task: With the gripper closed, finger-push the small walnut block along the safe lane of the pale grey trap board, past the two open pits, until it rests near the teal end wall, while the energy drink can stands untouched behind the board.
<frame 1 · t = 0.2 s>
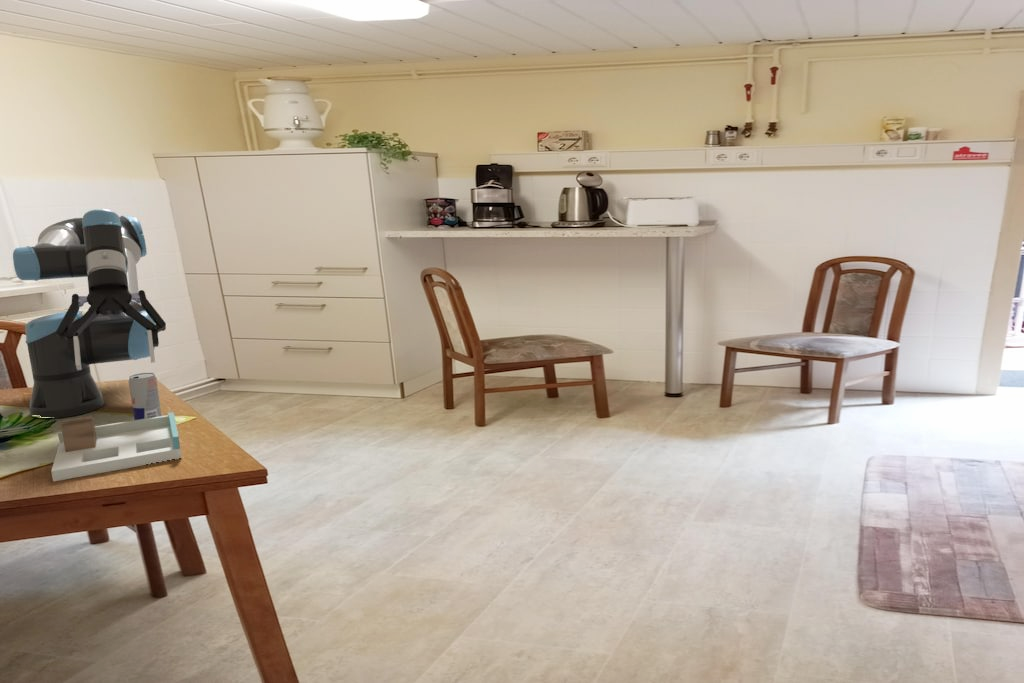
hand: (116, 364, 146), 16 cm above the table, tool tilted 35°, fingers open, 13 cm apart
walnut block: (81, 445, 137), point 2 cm above the table, touching trap board
energy drink: (149, 429, 153), on the table
trap board: (120, 454, 137), on the table
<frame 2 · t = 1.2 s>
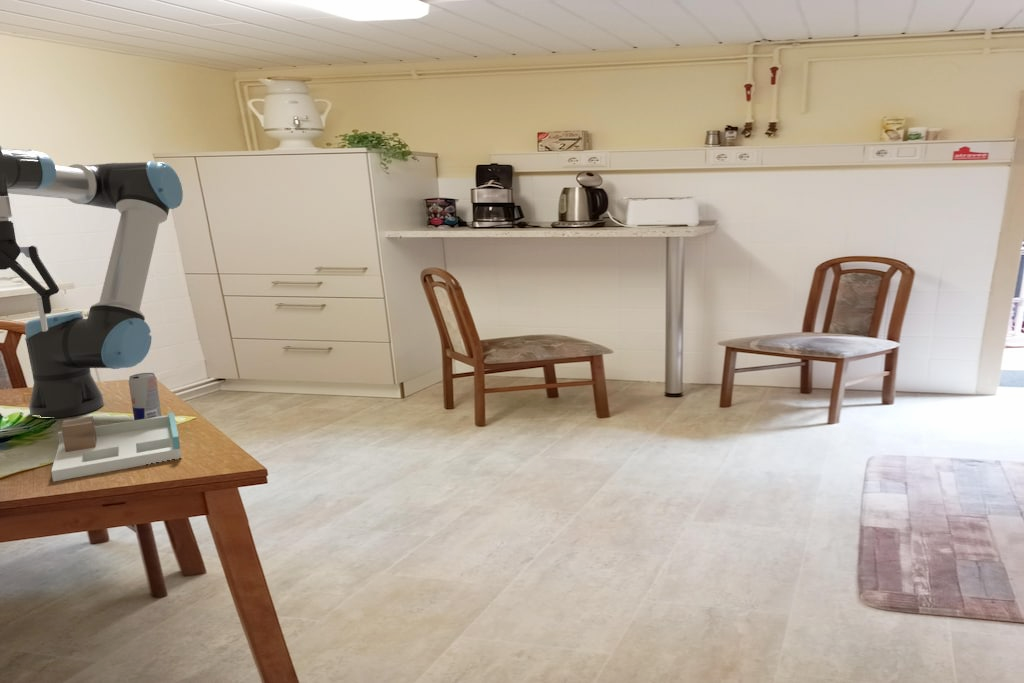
hand: (8, 334, 135), 24 cm above the table, tool pointing down, fingers open, 11 cm apart
nothing on the table moved.
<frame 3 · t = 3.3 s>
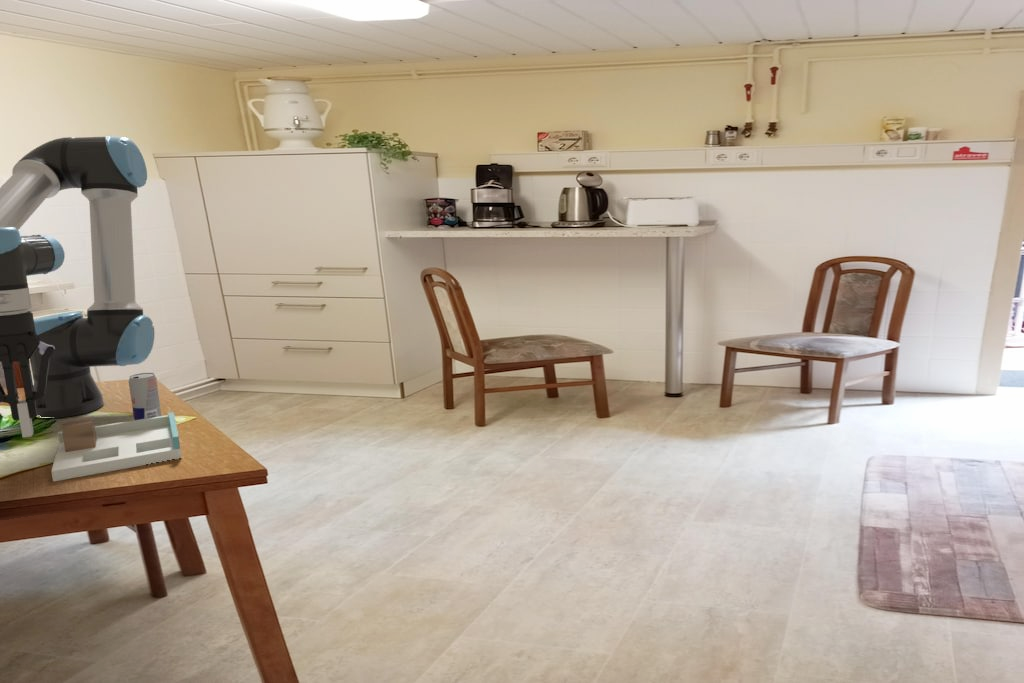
hand: (28, 434, 132), 6 cm above the table, tool pointing down, fingers closed
nothing on the table moved.
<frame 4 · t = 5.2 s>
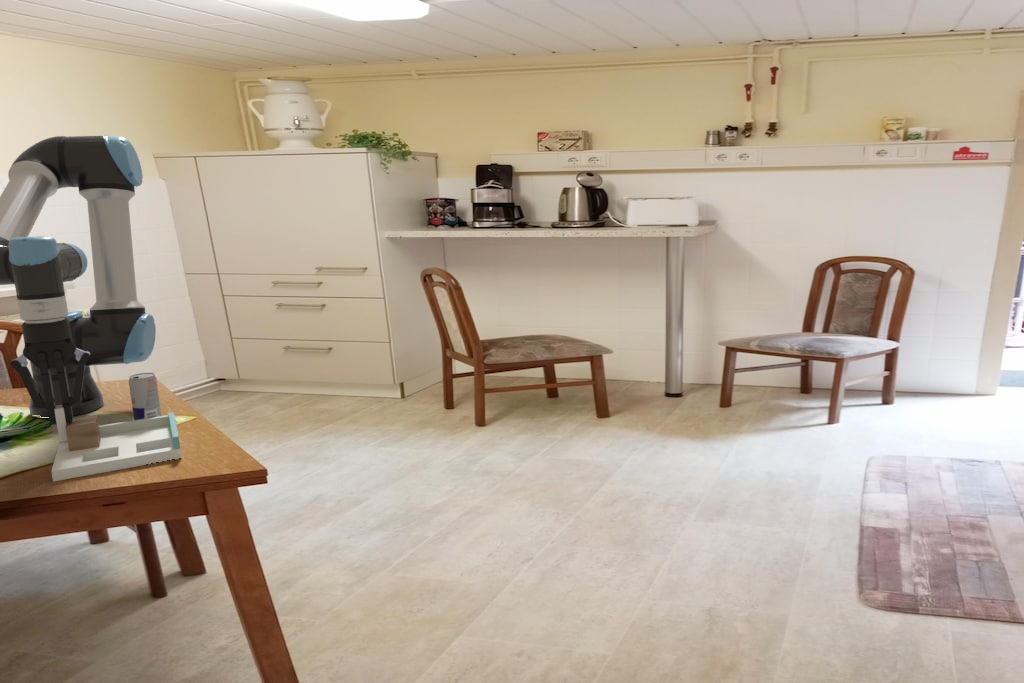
hand: (64, 438, 135), 4 cm above the table, tool pointing down, fingers closed
walnut block: (85, 445, 137), point 2 cm above the table, touching gripper
everything else where it was.
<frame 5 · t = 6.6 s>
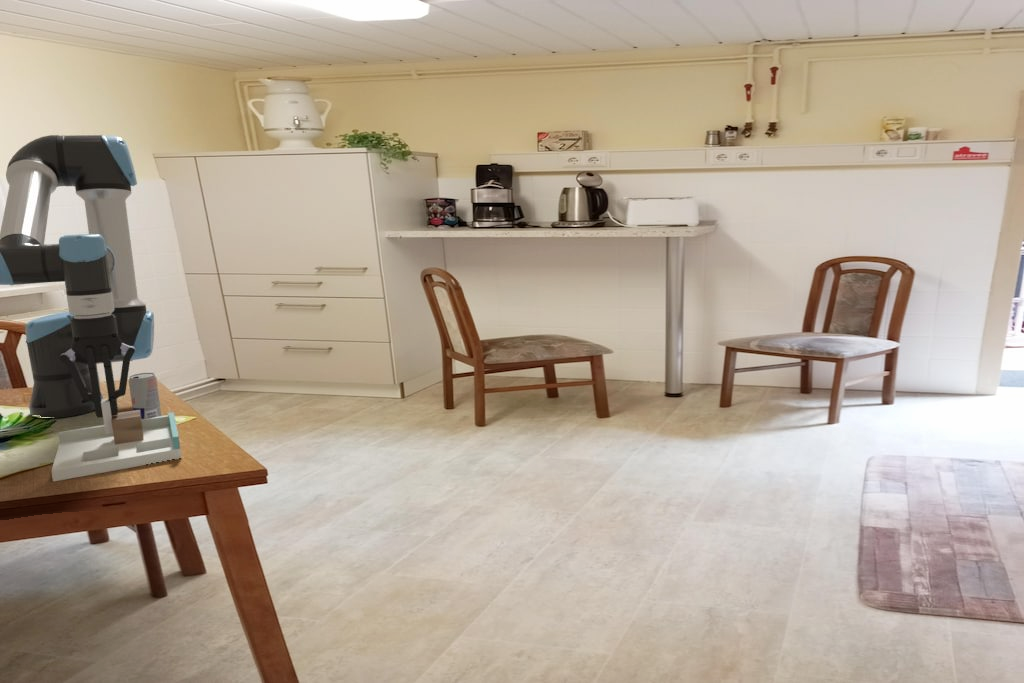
hand: (109, 431, 139), 4 cm above the table, tool pointing down, fingers closed
walnut block: (129, 438, 140), point 2 cm above the table, touching gripper
everything else where it was.
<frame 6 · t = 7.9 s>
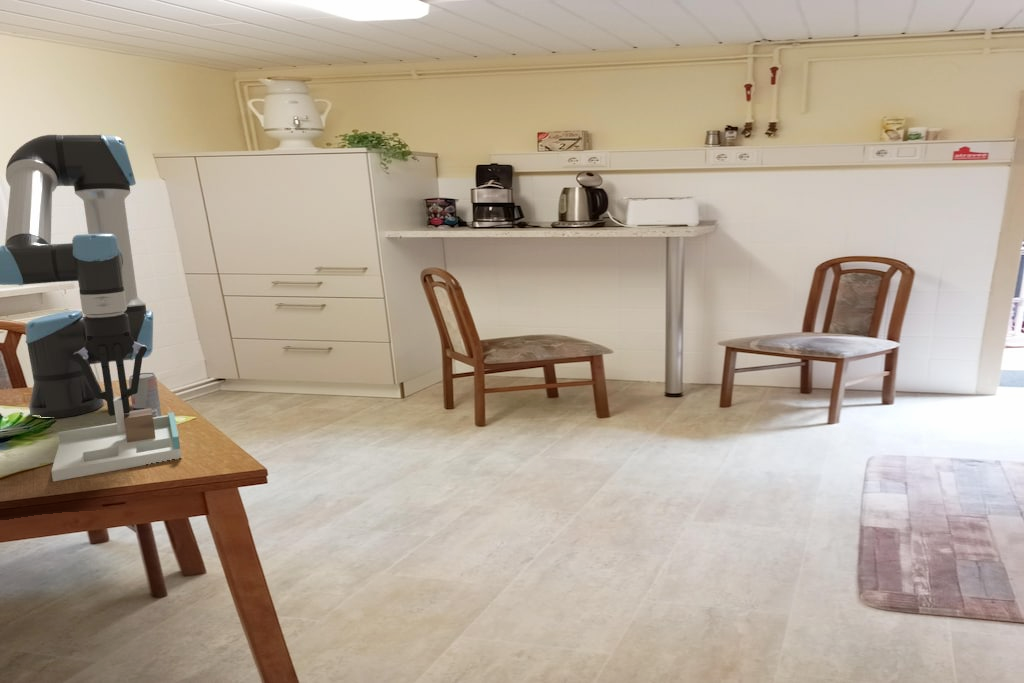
hand: (122, 429, 139), 4 cm above the table, tool pointing down, fingers closed
walnut block: (141, 436, 141), point 2 cm above the table, touching gripper, trap board
everything else where it was.
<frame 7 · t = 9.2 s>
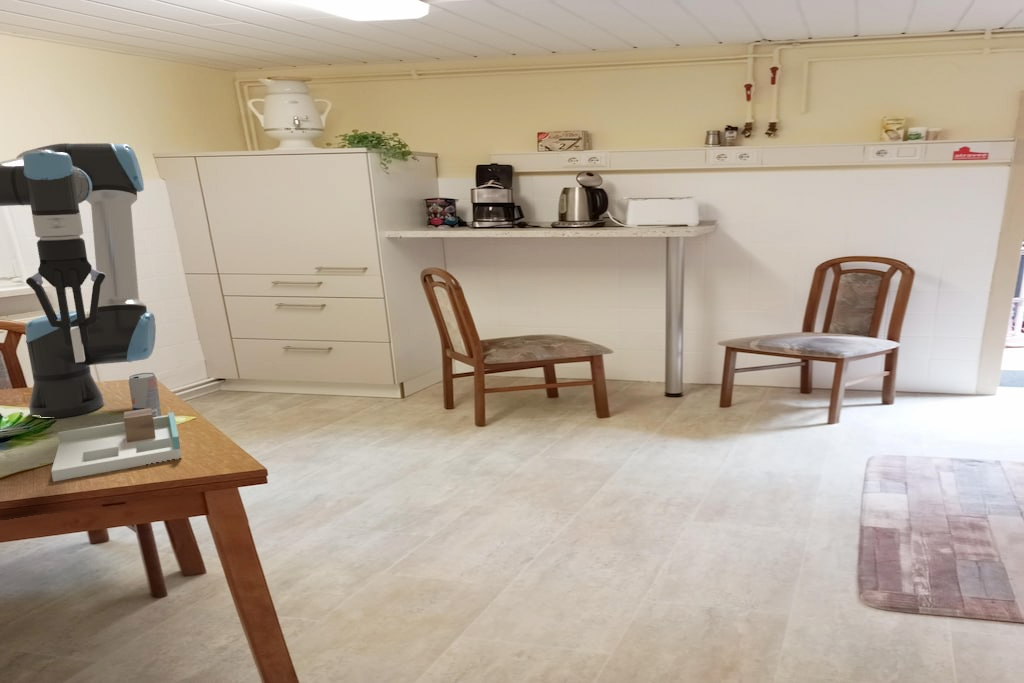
hand: (80, 360, 134), 19 cm above the table, tool pointing down, fingers closed
walnut block: (141, 436, 141), point 2 cm above the table, touching trap board
everything else where it was.
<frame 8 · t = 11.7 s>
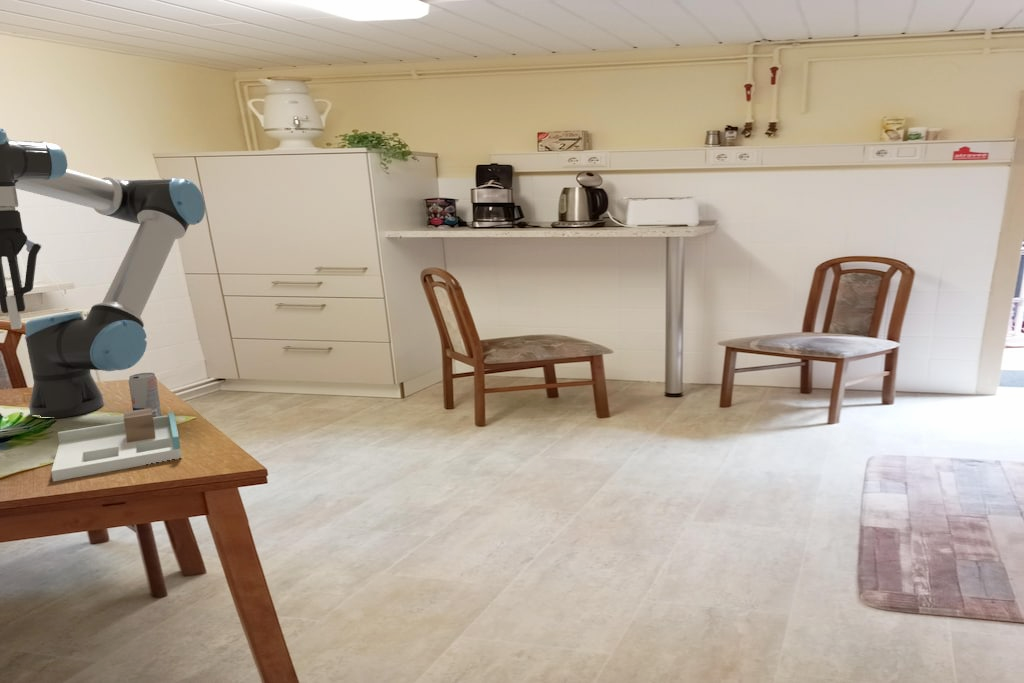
hand: (16, 327, 140), 24 cm above the table, tool pointing down, fingers closed
nothing on the table moved.
at the end: walnut block inside the target area (1.6 cm from its centre), point 2.0 cm above the table; walnut block tilted 0° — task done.
